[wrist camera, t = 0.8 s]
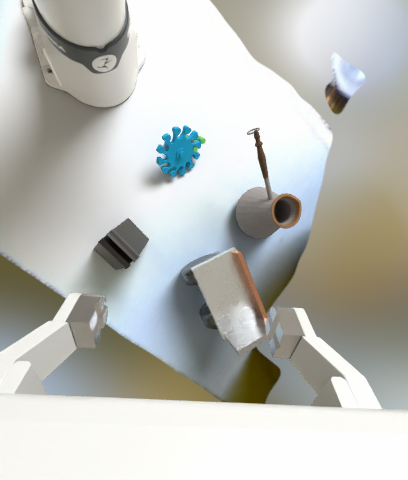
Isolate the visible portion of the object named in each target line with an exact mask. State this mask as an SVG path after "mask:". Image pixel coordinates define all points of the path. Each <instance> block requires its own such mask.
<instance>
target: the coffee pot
mask: <svg viewBox="0 0 408 480" xmlns="http://www.w3.org/2000/svg"><path fill="white" fill-rule="evenodd" d="M256 129H258V130H256ZM253 130H255V131H254V132H252V133H249V132H251V131H253ZM259 130H260V128H255V129H252V130H250V131H248V132H247V134H248V135H250V134H253V133H254V138H255V139H256V144H255V146H256V147H257V152H258V160H259V164H260V167H261V171H262V174H263V177H264V180H265V185H266V188H262V187H256V188H252V189H250V190H248V191H247V192H245V193H244V194H243V195H242V196H241V198H240V199H239V201H238V204H237V206H236V220H237V223H238V225H239V227H240V228H241V230H242V231H243V232H244V233H245V234H246V235H248V236H250V237H252V238H258V239H260V238H266V237H268V236H270V235H272V234H273V233H274V232H275V231H276V230H278V229H279V228H280V227H281V228H290V227H292V226H294V225H295V224H296V223H297V222H298V221H299V219H300V216H301V201H300V200H299V199H297V198H296V197H295V196H293V195H291V194H287V193H286V194H281V195H277V194H276V193H274V192H273V191H271V187H270V183H269V179H268V171H267V164H266V158H265V154H264V152H263V149H262V142H261V141H260V139H259V138H260V135H259V132H258V131H259Z"/></svg>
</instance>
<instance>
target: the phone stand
mask: <svg viewBox="0 0 408 480" xmlns="http://www.w3.org/2000/svg"><path fill="white" fill-rule="evenodd" d="M148 240H149V239H148V238H147V237H146V236H145V235H144V234H143V233H142V232H141V231H140V230H139V229H138V228H137V226H136V225H135V224H134V223H133V222H132V221H131V220H130V219H129V218H128V219H126V220H125V221H124V222H122V223H121V224H120V225H119V226H117V227H116V228H115V229H113V230H111V231H110V232H109V233H108V234H107V235H106V236H105V237H104V238H102V239H101V240H100V241H99V242H98V244H97V245H96V247H95V248H94V250H95V251H96V252H97V253H98V254H100V255H101V256H102V257H103V258H104V259H105V260H106V261H107V262H108V263H109V264H110V265H111V266H112V267H113V268H114V269H116V270H117V269H120V268H125V269H127V268H128V267H129V266H130V263H131V262H132V261H134V262H135V261H136V260H137V258H138V257H139V254H140V252H141V251H142V249H143V248H144V246H145V245H146V243H147V242H148Z"/></svg>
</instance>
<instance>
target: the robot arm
mask: <svg viewBox="0 0 408 480" xmlns="http://www.w3.org/2000/svg"><path fill="white" fill-rule="evenodd" d="M23 4H24V7H23V8H22V10H23V13H24V16H25V18H26V21H27V23H28V25H29V27H30V29H31V33H32V36H33V40H34V43H35V47H36V51H37V54H38V58H39V61H40V65H41V69H42V72H43V76H44V79H45V81H46V83H47V84H48V85H49V86H51V87H53V88H56V89H60V90H63V91H66V92H68V93H69V94H71V95H72V96H73V97H75V98H76V99H78V100H79V101H81V102H83V103H85V104H88V105H91V106H95V107H112V106H115V105H118V104H120V103H122V102H124V101H125V100H126V99H127V98H128V97H129V96H130V95H131V94H132V92H133V90H134V88H135V85H136V81H137V75H138V71H139V70H140V68H141V67H142V65H143V64H144V62H145V54H144V51H143V50H142V48H141V46H140V45H139V43H138V39H137V31H136V28H134V27H133V26H132V24H131V22H130V17H129V11H128V5H127V1H126V0H23ZM49 70H51V71H52V73H48V71H49ZM105 302H106V298H105V296H104V295H94V294H83V293H70V294H69V295H68V297H67V298H66V300H65V301H64V303H63V305H62V306H61V308H60V309H59V311H58V313H57V314H56V316H55V317H54V319H53V321H48V322H46V323H45V324H43V325H42V326H40V327H39V328H37V329H36V330H34V331H33V332H31V333H29V334H28V335H26V336H25V337H23V338H22V339H20V340H19V341H17V342H15V343H14V344H12V345H11V346H9V347H8V348H6V349H5V350H3V351H2V352H0V480H408V410H393V409H392V410H391V409H382V408H381V406H380V404H379V402H378V400H377V399H376V397H375V395H374V393H373V391H372V390H371V388H370V386H369V384H368V382H367V381H366V378H365V377H364V376H363V375H362V374H360V373H359V372H358V371H357V370H356V369H355V368H354V367H352V366H351V365H350V364H349V363H348V362H347V361H346V360H344V359H343V358H342V357H341V356H340V355H339V354H338V353H337V352H335V351H334V350H333V349H332V348H331V347H330V346H329V345H327V344H326V343H325V342H324V341H323V340H322V339H321V338H319V337H316V335H315V333H314V331H313V328H312V326H311V324H310V322H309V319H308V317H307V315H306V313H305V311H304V309H303V308H290V307H272V308H271V310H270V314H271V315H270V316H269V317H267V320H266V334H267V337H268V338H269V339H270V340H271V342H270V344H269V346H270V350H271V353H272V357H273V358H283V359H290V361H291V362H292V364H293V365H294V366H295V367H296V369H297V370H298V371H299V372H300V374H301V375H302V376H303V377H304V379H305V380H306V381H307V382H308V384H309V385H310V386H311V387H312V389H313V390H314V391H315V392H316V394H317V395H318V396H317V397H316V398H315V400H314V401H313V403H312V404H311V406H297V405H272V404H249V403H226V402H202V401H177V400H155V399H131V398H107V397H83V396H59V395H47V393H46V391H45V389H44V387H43V385H42V383H41V382H42V380H44V379H45V378H46V377H47V376H48V375H49V374H50V373H51V372H52V371H53V370H54V369H55V368H56V367H58V366H59V365H60V364H61V363H62V362H63V361H64V360H65V359H66V358H67V357H68V356H69V355H70V354H71V353H72V352H74V351H75V350H76V348H96V346H97V344H98V341H99V339H100V336H101V333H100V330H101V329H102V328H103V327H104V326H105V324H106V321H107V316H108V309H107V306H106V305H104V304H105Z"/></svg>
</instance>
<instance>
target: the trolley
mask: <svg viewBox="0 0 408 480" xmlns="http://www.w3.org/2000/svg"><path fill="white" fill-rule="evenodd" d="M181 274H182V276H183V278H184V280H185V283H186V284H187V285H197V284H198V286H199V288H200V291H201V293H202V295H203V297H204V300H205V302H206V304H205V305H204V306H203V307H202V308H201V310H200V316H201V318H202V320H203V322H204V324H205V326H206V327H207V328H210V329H218V331H219V333H220V336H221V337H222V339H223V340H227V341H228V342H229V343H230V345H231V346H232V347H233V349H234V350H235V351H236V352H237V354H238V355H239V356H241V355H243V354H245V353H246V352H248V351H249V350H251V349H253V348H254V347H256V346H257V345H259V344H260V343H262V342H264V341H265V340H267V339H269V338H268V337H267V334H266V320H267V314H266V312H265V309H264V307H263V304H262V302H261V299H260V297H259V294H258V292H257V289H256V287H255V284H254V282H253V279H252V277H251V274H250V272H249V269H248V267H247V264H246V262H245V259H244V257H243V254H242V252H240V251H237V249H236V248H234V247H232V248H230V249H228V250H226V251H224V252H222V253H220V252H215V253H213V254H210V255H206V256H203V257H201V258H198V259H196V260H194V261H192V262H191V263H189V264H188V265H186V266H185V267H184V268H183V269H182V270H181Z"/></svg>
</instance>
